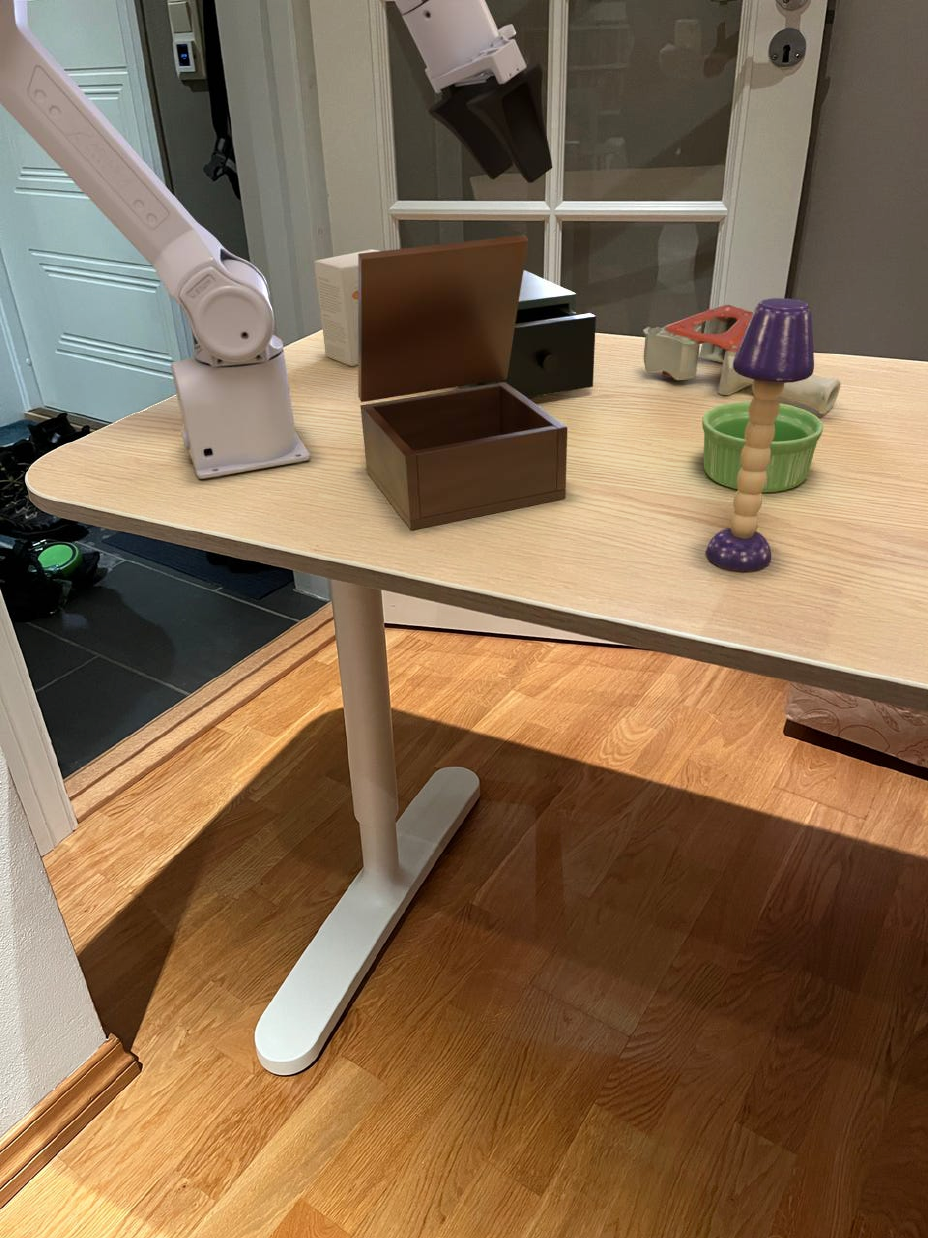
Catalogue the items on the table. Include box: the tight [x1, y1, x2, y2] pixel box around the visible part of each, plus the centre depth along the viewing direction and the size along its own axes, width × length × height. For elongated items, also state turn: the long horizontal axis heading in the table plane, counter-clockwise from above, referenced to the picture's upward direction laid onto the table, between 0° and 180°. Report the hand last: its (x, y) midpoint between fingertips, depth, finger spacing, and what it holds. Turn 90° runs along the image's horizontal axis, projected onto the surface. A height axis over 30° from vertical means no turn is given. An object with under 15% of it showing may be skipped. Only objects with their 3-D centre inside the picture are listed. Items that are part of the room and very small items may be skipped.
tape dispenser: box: [643, 304, 842, 415], centre depth 89 cm, size 18×5×20 cm
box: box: [359, 382, 568, 531], centre depth 71 cm, size 12×13×6 cm
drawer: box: [482, 305, 597, 399], centre depth 90 cm, size 14×10×7 cm
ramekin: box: [701, 400, 824, 493], centre depth 71 cm, size 9×9×4 cm
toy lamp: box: [705, 297, 815, 572], centre depth 57 cm, size 5×5×17 cm
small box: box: [314, 248, 379, 367], centre depth 100 cm, size 8×6×10 cm
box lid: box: [357, 234, 529, 403], centre depth 69 cm, size 12×13×1 cm
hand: (520, 173), depth 72 cm, fingers open, 7 cm apart
